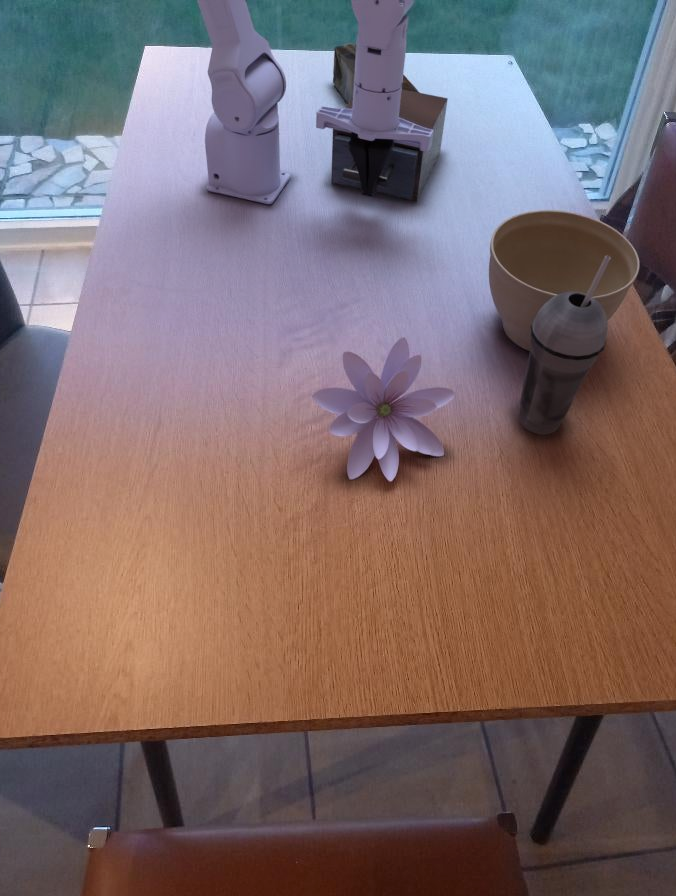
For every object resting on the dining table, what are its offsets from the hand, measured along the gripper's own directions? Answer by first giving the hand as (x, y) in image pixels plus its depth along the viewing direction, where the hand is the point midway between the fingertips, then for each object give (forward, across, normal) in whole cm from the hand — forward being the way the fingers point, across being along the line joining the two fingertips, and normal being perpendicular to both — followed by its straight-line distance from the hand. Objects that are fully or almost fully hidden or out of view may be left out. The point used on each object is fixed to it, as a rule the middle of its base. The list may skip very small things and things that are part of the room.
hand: (369, 192), depth 102 cm
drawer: (+3, -1, +10) cm, 10 cm away
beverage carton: (+3, -8, +31) cm, 32 cm away
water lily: (+6, +14, -40) cm, 42 cm away
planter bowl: (+4, +26, -14) cm, 30 cm away
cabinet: (+3, -1, +14) cm, 15 cm away
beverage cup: (+5, +28, -30) cm, 41 cm away
